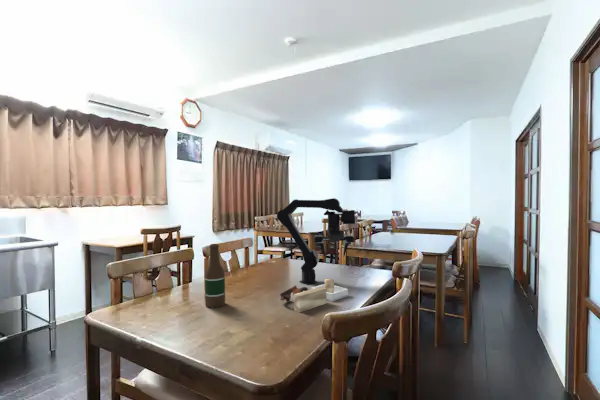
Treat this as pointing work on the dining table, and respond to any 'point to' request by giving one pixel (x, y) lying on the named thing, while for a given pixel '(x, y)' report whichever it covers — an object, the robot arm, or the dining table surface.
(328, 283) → the peg
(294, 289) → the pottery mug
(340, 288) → the tray
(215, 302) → the beer bottle
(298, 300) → the block
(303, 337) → the dining table surface
